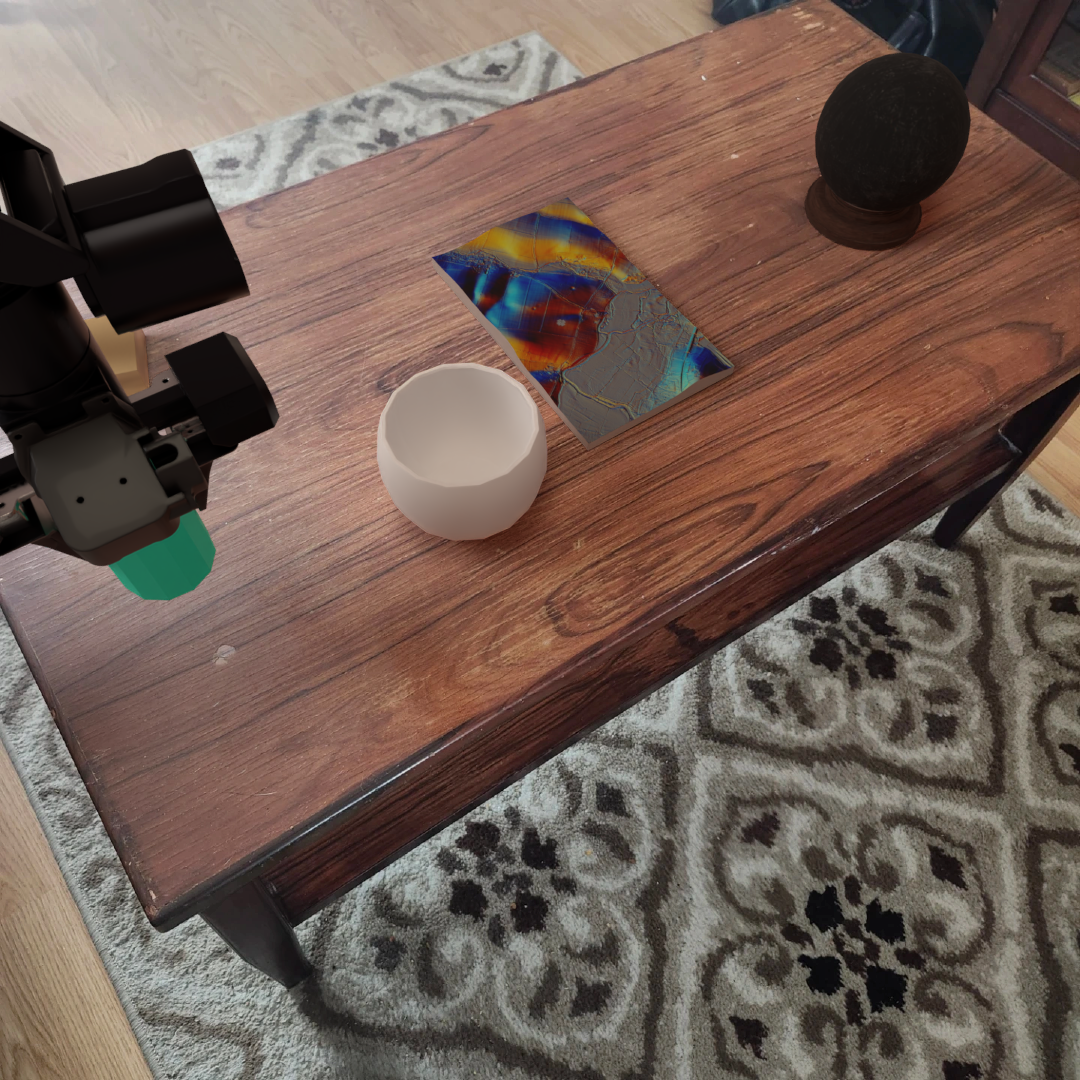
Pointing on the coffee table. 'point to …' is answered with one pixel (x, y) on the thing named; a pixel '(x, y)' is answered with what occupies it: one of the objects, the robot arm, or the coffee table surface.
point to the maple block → (123, 354)
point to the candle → (169, 562)
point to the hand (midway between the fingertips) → (147, 530)
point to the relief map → (581, 321)
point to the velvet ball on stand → (886, 149)
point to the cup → (462, 450)
